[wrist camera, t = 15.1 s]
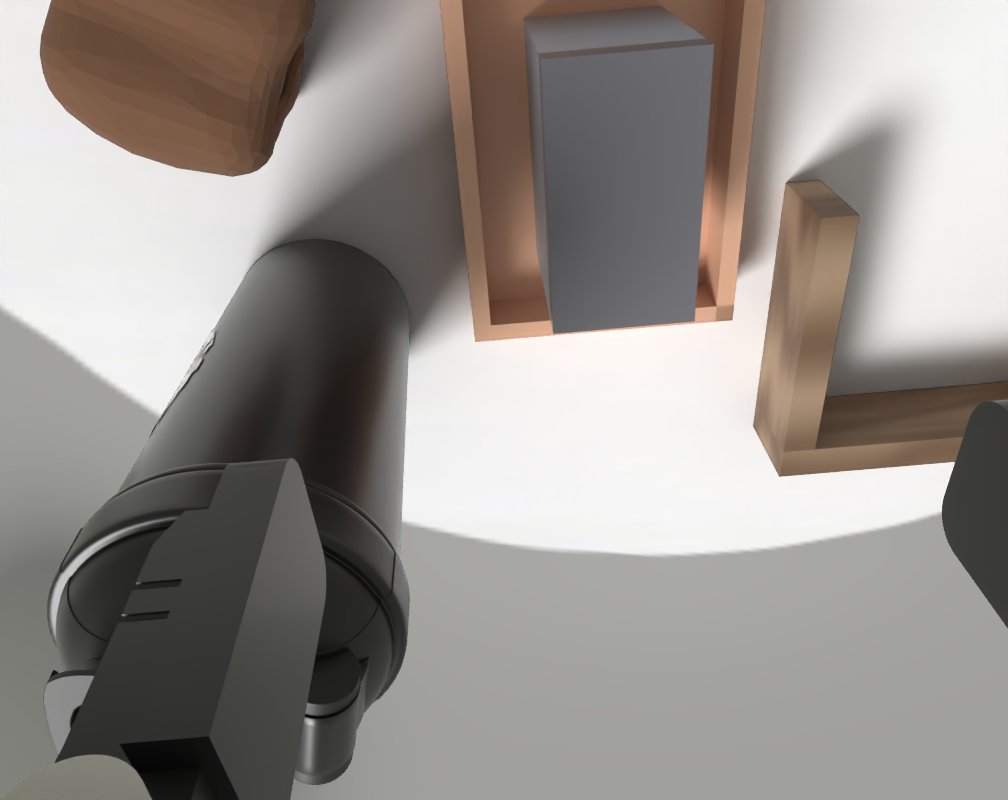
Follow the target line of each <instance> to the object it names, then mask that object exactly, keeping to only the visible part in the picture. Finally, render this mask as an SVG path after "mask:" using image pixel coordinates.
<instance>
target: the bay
mask: <svg viewBox="0 0 1008 800" xmlns="http://www.w3.org/2000/svg"><path fill="white" fill-rule="evenodd" d="M859 217H860V215H859V214H858V213H857V212H855V211H854V210H853V209H852V208H851V207H850V206H849V205H848V204H846V203H845V202H844V201H843V200H842V199H841V198H840V197H839V196H837V195H836V194H835V193H834V192H833V191H832V190H831V189H830V188H828V187H827V186H826V185H825V184H824V183H823V182H822V181H820V180H817V181H805V182H793V183H786V185H785V192H784V200H783V207H782V215H781V222H780V230H779V237H778V245H777V252H776V260H775V267H774V275H773V282H772V290H771V297H770V305H769V312H768V320H767V327H766V335H765V342H764V350H763V357H762V365H761V372H760V380H759V387H758V394H757V402H756V409H755V417H754V424H753V427H754V429H755V431H756V433H757V435H758V436H759V438H760V440H761V442H762V444H763V446H764V448H765V450H766V452H767V454H768V456H769V458H770V460H771V461H772V463H773V465H774V467H775V469H776V471H777V473H778V475H779V477H781V476H793V475H804V474H816V473H828V472H840V471H852V470H863V469H875V468H887V467H899V466H910V465H922V464H934V463H946V462H956V458H957V455H958V452H959V449H960V446H961V443H962V440H963V437H964V434H965V430H966V427H967V424H968V421H969V418H970V416H971V414H972V412H973V410H974V409H975V408H976V407H977V406H978V405H979V404H981V403H983V402H986V401H996V400H1008V382H998V383H987V384H975V385H963V386H951V387H939V388H928V389H916V390H904V391H892V392H880V393H869V394H857V395H845V396H833V397H825V395H826V389H827V384H828V379H829V374H830V368H831V363H832V358H833V353H834V348H835V342H836V337H837V332H838V327H839V322H840V316H841V311H842V306H843V301H844V296H845V290H846V285H847V280H848V275H849V269H850V264H851V259H852V254H853V249H854V243H855V238H856V233H857V228H858V223H859Z"/></svg>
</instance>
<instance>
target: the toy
mask: <svg viewBox="0 0 1008 800" xmlns="http://www.w3.org/2000/svg"><path fill="white" fill-rule="evenodd" d="M314 9H315V0H51V3H50V7H49V10H48V14H47V17H46V21H45V24H44V28H43V31H42V35H41V45H40V58H41V64H42V69H43V74H44V76H45V79H46V82H47V85H48V87H49V89H50V91H51V92H52V94H53V95H54V97H55V98H56V99H57V100H58V101H59V102H60V104H61V105H62V106H63V107H64V108H65V109H66V111H67V112H68V113H70V114H71V115H72V116H74V117H75V118H76V119H77V120H79V121H80V122H81V123H83V124H84V125H85V126H87V127H88V128H89V129H91V130H92V131H93V132H94V133H96V134H97V135H99V136H101V137H103V138H105V139H107V140H108V141H110V142H112V143H114V144H116V145H118V146H119V147H121V148H123V149H125V150H127V151H129V152H131V153H132V154H136V155H139V156H142V157H145V158H148V159H151V160H154V161H157V162H160V163H163V164H167V165H170V166H173V167H176V168H181V169H187V170H193V171H200V172H206V173H213V174H219V175H226V176H232V177H233V176H238V175H244V174H249V173H252V172H254V171H257V170H259V169H260V168H261V167H262V166H263V165H265V164H266V163H267V162H268V160H269V159H270V157H271V155H272V154H273V149H274V145H275V142H276V140H277V138H278V136H279V133H280V130H281V128H282V125H283V122H284V120H285V118H286V116H287V115H288V114H289V112H290V111H291V109H292V108H293V106H294V103H295V101H296V98H297V96H298V93H299V88H300V80H301V73H302V65H303V57H304V42H303V41H302V40H303V39H304V37H305V36H306V34H307V32H308V31H309V29H310V28H311V26H312V20H313V15H314Z"/></svg>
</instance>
